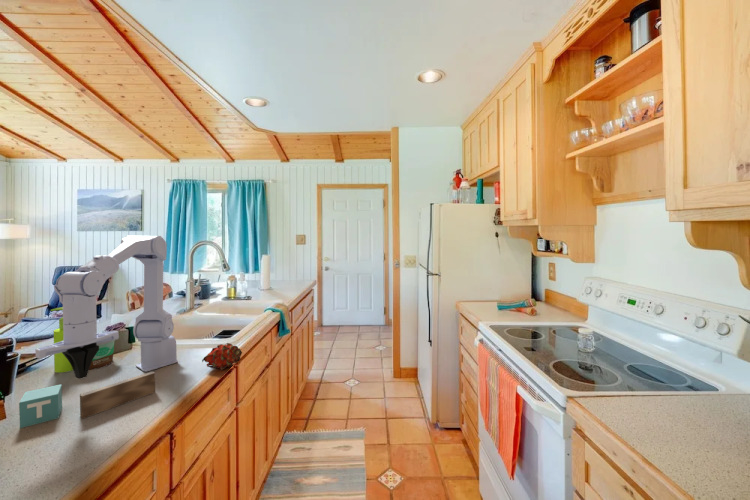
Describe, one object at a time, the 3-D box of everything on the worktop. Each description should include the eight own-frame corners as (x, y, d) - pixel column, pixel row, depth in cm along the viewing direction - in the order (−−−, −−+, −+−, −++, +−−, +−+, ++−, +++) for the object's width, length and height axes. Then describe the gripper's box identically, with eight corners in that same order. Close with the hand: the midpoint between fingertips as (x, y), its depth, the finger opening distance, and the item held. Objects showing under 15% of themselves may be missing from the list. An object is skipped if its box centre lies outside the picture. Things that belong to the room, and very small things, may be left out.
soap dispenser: (63, 364, 99) (61, 305, 98) (85, 364, 100) (84, 305, 99) (45, 372, 93) (43, 309, 93) (69, 372, 94) (67, 309, 93)
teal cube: (62, 407, 76) (61, 384, 75) (58, 418, 71) (57, 394, 71) (26, 416, 72) (25, 391, 71) (19, 429, 67) (18, 403, 67)
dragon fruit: (245, 369, 102) (205, 380, 97) (242, 348, 108) (204, 358, 103) (242, 355, 97) (200, 367, 92) (239, 334, 103) (199, 344, 98)
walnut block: (152, 390, 84) (152, 371, 84) (155, 392, 83) (155, 372, 83) (80, 416, 72) (79, 394, 71) (82, 418, 71) (81, 396, 71)
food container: (86, 374, 93) (86, 343, 92) (71, 372, 94) (70, 341, 93) (127, 359, 105) (126, 331, 104) (113, 357, 106) (112, 329, 106)
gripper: (107, 312, 80) (108, 362, 80) (28, 327, 66) (30, 386, 67) (123, 316, 77) (123, 367, 77) (43, 331, 64) (44, 393, 64)
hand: (81, 376), depth 72 cm, fingers closed
